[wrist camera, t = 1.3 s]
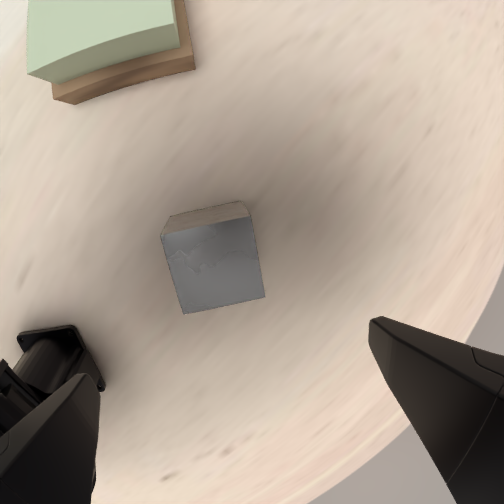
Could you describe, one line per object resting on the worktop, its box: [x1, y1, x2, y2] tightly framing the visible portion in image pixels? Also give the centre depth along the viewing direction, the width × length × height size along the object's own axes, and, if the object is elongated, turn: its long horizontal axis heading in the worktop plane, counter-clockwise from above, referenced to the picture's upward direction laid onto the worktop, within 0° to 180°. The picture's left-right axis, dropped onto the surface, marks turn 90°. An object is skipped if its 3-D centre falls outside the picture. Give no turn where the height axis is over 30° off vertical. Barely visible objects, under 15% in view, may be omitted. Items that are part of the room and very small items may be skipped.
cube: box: [160, 201, 265, 314], centre depth 18 cm, size 4×4×4 cm
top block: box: [27, 0, 180, 85], centre depth 10 cm, size 7×7×4 cm
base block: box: [51, 0, 195, 105], centre depth 13 cm, size 8×8×4 cm
